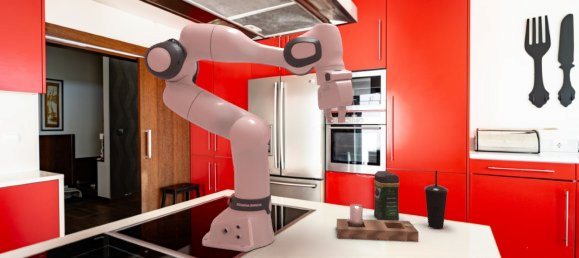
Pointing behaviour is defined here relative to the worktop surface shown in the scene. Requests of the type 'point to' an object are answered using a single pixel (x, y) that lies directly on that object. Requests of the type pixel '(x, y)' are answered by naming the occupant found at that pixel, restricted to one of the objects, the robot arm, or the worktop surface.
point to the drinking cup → (436, 204)
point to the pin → (356, 215)
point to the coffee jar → (386, 196)
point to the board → (378, 230)
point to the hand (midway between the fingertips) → (335, 122)
